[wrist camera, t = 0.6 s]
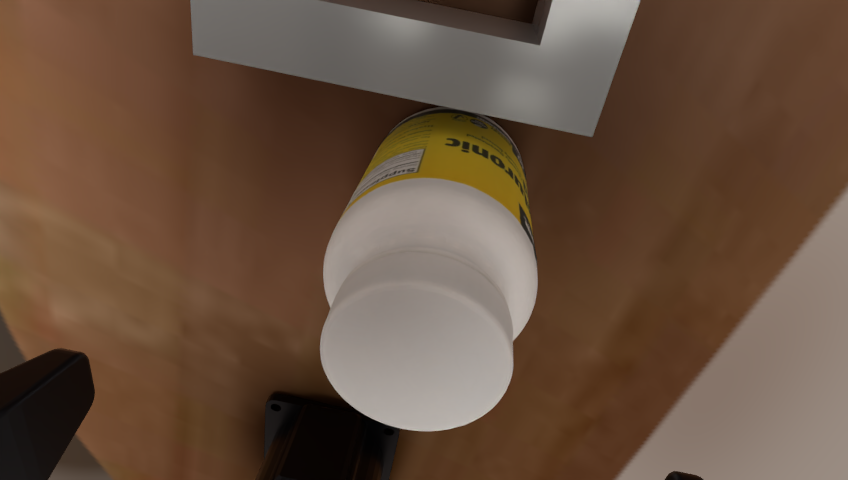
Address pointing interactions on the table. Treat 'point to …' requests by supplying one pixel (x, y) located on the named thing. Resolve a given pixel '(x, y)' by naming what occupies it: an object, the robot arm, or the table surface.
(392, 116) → the table surface
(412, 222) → the supplement bottle
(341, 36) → the well
